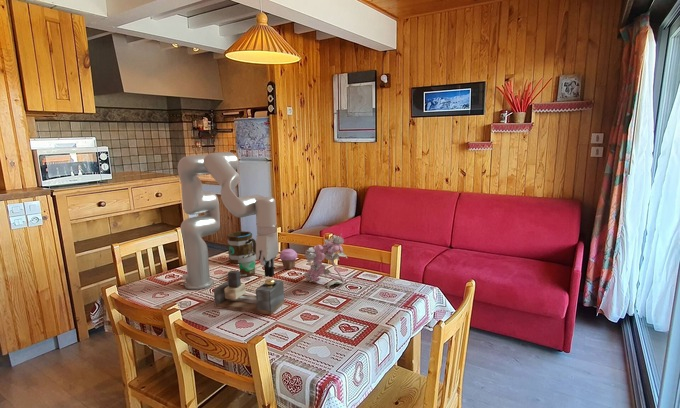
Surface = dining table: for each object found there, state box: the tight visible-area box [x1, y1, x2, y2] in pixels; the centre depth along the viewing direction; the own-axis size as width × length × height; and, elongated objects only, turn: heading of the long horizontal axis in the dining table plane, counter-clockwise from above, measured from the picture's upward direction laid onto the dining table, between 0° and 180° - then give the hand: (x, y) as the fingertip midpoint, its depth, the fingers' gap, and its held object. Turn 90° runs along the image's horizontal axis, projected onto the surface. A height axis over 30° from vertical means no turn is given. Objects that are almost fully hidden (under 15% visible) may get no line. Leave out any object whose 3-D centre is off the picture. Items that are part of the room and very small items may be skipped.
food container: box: [238, 252, 256, 279], centre depth 188 cm, size 12×6×10 cm, turn 168°
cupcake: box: [279, 248, 298, 270], centre depth 196 cm, size 9×9×10 cm
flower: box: [302, 233, 348, 290], centre depth 174 cm, size 20×22×25 cm
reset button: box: [264, 278, 275, 287], centre depth 149 cm, size 4×4×6 cm
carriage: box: [224, 269, 246, 300], centre depth 154 cm, size 5×7×10 cm
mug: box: [226, 230, 256, 265], centre depth 208 cm, size 20×14×15 cm
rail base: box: [213, 279, 285, 316], centre depth 153 cm, size 25×11×10 cm, turn 72°
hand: (269, 275), depth 149 cm, fingers closed
